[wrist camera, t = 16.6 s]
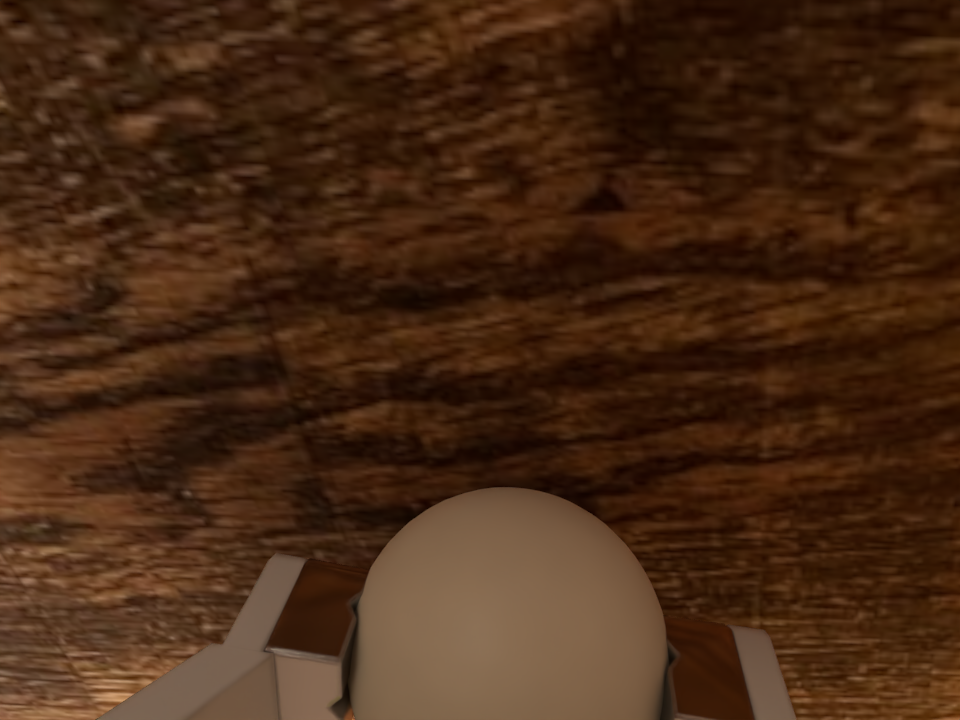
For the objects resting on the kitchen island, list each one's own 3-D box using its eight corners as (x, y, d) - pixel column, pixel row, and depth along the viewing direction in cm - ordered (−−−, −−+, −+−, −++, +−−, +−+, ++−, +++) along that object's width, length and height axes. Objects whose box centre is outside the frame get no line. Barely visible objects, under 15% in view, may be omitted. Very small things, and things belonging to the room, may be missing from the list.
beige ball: (393, 409, 10) (288, 647, 7) (679, 450, 10) (745, 723, 6) (386, 609, 13) (303, 878, 9) (623, 647, 12) (648, 943, 8)
